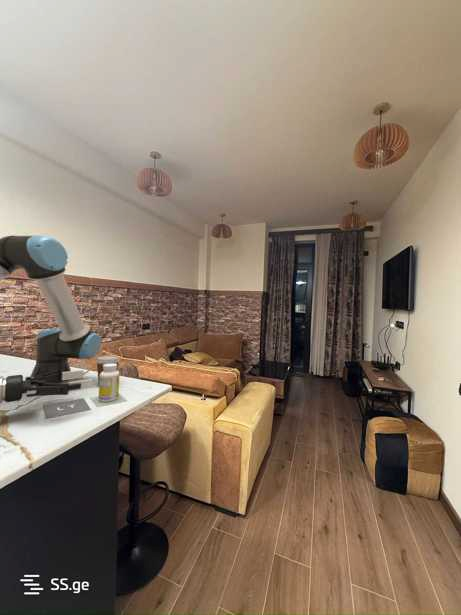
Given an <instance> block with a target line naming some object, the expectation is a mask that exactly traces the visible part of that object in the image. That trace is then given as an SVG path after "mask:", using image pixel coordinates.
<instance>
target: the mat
mask: <svg viewBox="0 0 461 615" xmlns="http://www.w3.org/2000/svg"><path fill="white" fill-rule="evenodd" d="M90 400H91V401H92V402H93V404H94V406H95V407H96V408H99V407H104V406H108V405H113V404H118V403H124V402H127V401H128V400H127V399H126V398H125V397H124V396H123V395H121V393H119V395H118V398H117V399H116V400H114V401H110V402H101V401H99V395H98V396H94V397H92V396H91V397H90Z"/></svg>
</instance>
